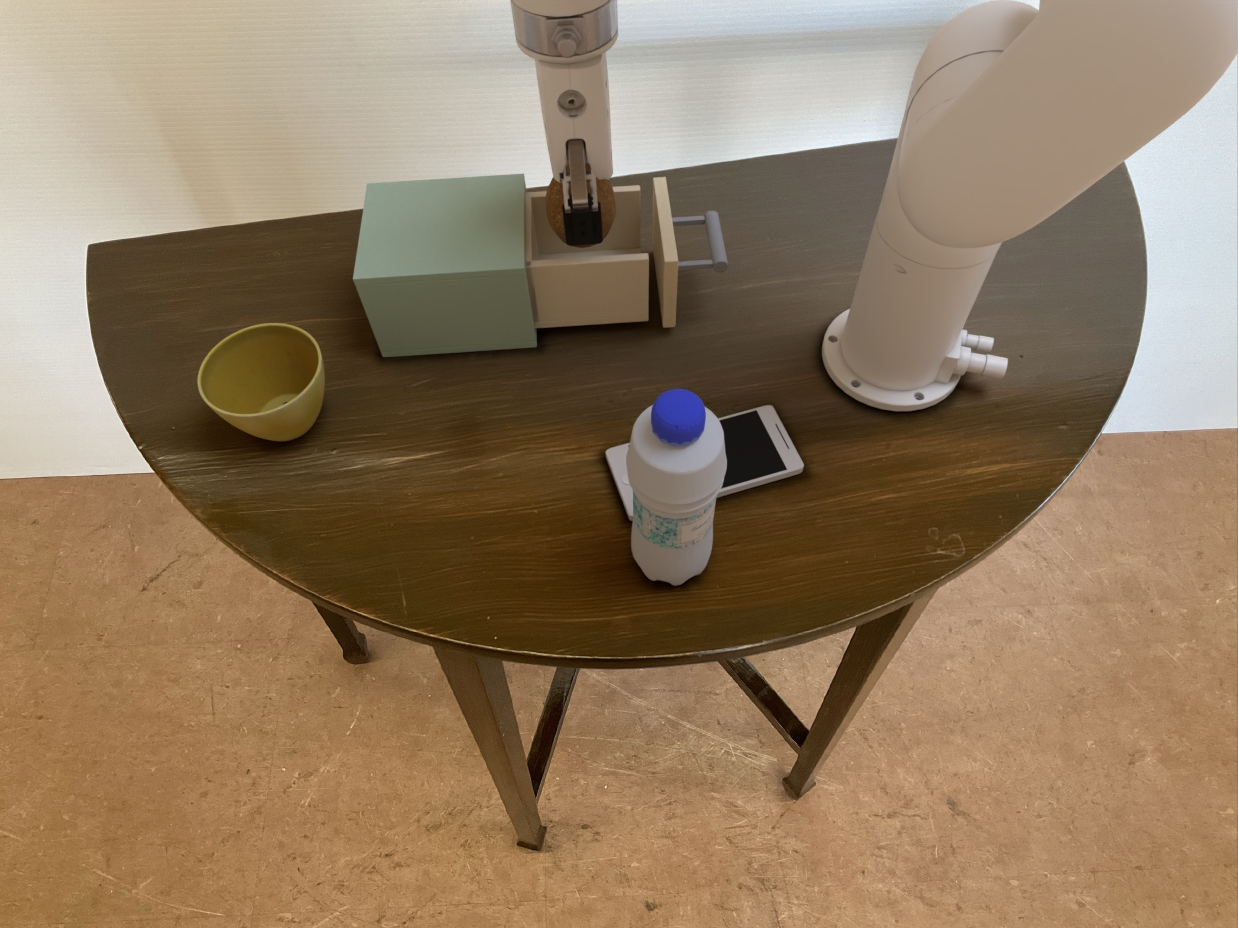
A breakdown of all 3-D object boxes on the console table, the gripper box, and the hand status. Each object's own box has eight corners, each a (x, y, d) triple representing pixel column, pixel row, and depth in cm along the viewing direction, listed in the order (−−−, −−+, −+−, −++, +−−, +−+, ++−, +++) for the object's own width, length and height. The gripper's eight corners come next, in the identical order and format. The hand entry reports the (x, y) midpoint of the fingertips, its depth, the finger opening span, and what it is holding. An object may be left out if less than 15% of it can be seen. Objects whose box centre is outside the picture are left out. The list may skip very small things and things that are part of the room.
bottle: (681, 610, 66) (694, 466, 49) (611, 564, 68) (602, 411, 51) (729, 548, 69) (756, 392, 52) (661, 506, 71) (666, 343, 54)
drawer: (711, 241, 87) (717, 173, 80) (727, 323, 81) (734, 257, 74) (531, 253, 87) (522, 185, 80) (532, 336, 81) (522, 271, 74)
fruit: (578, 275, 76) (571, 202, 69) (536, 239, 79) (525, 166, 72) (631, 242, 78) (629, 168, 72) (588, 209, 81) (583, 135, 74)
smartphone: (604, 454, 74) (604, 448, 73) (770, 409, 76) (771, 402, 75) (630, 523, 70) (630, 517, 69) (804, 473, 72) (805, 466, 71)
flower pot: (367, 417, 77) (344, 365, 71) (271, 486, 73) (238, 437, 67) (305, 358, 81) (278, 305, 75) (210, 420, 77) (174, 369, 71)
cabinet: (535, 255, 88) (524, 173, 80) (537, 347, 81) (524, 268, 73) (393, 264, 88) (366, 183, 79) (382, 357, 81) (352, 279, 72)
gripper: (626, 81, 56) (632, 281, 71) (610, -47, 66) (618, 153, 81) (512, 89, 56) (542, 288, 71) (513, -41, 66) (539, 158, 81)
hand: (582, 214), depth 76 cm, fingers closed on fruit, 6 cm apart
